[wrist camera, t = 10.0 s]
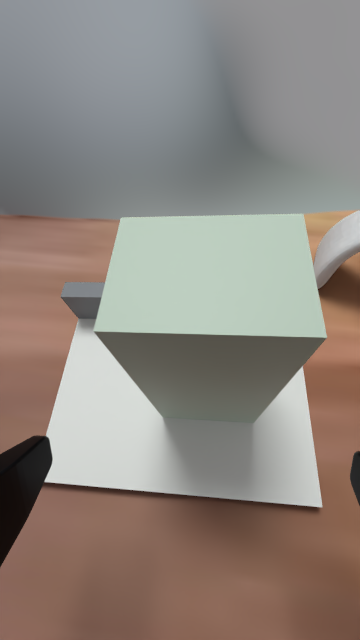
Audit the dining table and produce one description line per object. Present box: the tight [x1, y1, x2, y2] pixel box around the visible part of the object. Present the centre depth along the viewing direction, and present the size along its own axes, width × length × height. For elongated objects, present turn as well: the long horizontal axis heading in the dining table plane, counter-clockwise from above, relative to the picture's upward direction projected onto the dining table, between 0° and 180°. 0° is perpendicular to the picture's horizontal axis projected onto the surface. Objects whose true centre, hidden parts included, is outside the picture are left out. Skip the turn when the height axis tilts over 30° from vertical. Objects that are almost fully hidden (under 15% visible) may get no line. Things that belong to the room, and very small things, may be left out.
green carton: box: [93, 214, 327, 423], centre depth 13 cm, size 6×4×12 cm
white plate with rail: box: [44, 282, 322, 507], centre depth 17 cm, size 16×12×4 cm
